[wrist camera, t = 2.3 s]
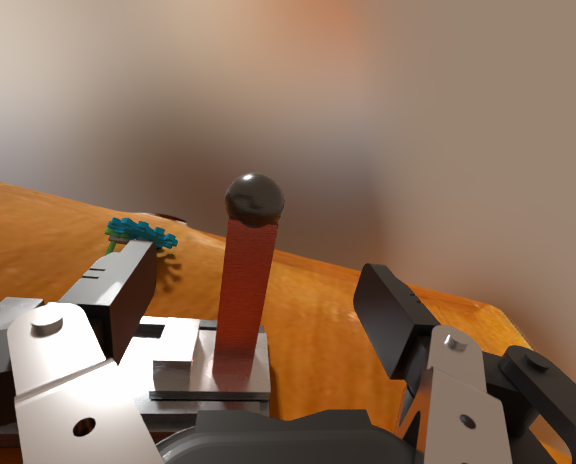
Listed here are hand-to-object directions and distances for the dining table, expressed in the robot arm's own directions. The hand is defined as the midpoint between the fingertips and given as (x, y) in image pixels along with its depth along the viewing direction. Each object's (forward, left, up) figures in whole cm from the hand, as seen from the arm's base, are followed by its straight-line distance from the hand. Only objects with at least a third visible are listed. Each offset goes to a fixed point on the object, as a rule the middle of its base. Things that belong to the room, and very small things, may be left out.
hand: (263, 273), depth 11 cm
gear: (+7, +36, -20) cm, 42 cm away
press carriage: (+5, +10, -18) cm, 21 cm away
